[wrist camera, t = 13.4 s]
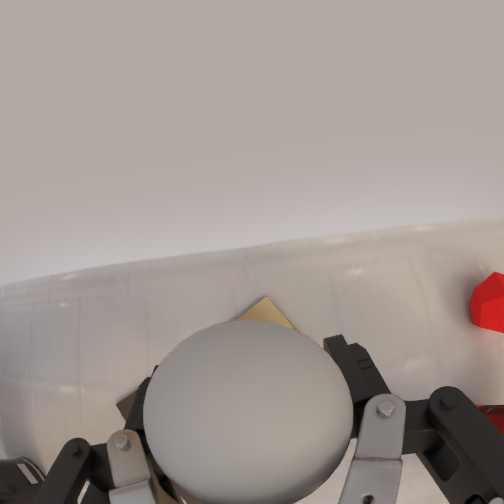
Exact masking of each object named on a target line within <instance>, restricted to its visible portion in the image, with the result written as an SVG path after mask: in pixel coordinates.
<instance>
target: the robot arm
mask: <svg viewBox="0 0 504 504" xmlns="http://www.w3.org/2000/svg"><path fill="white" fill-rule="evenodd" d="M323 343H324V350H325V351H326V352H327V353H328V354H329V355H330V357H331V358H332V359H333V360H334V362H335V363H336V364H337V366H338V367H339V368H340V370H341V372H342V374H343V376H344V378H345V380H346V383H347V385H348V387H349V391H350V395H351V399H352V404H353V429H352V434H351V438H350V439H352V438H356V437H357V440H358V441H357V445H356V449H355V453H354V456H353V458H352V461H351V464H350V467H349V471H348V474H347V477H346V481H345V484H344V487H343V490H342V493H341V496H340V499H339V502H338V504H395V503H396V499H397V494H398V489H399V484H400V478H401V473H402V464H403V461H402V460H401V455H404V454H413V453H416V454H417V456H418V457H419V459H420V460H421V462H422V463H423V465H424V466H425V468H426V469H427V470H428V472H429V473H430V475H431V476H432V478H433V479H434V481H435V482H436V484H437V485H438V487H439V488H440V490H441V491H442V492H443V494H444V495H445V497H446V498H447V500H448V501H449V503H450V504H504V435H503V434H502V433H501V432H500V431H499V430H498V429H497V428H496V426H495V425H494V424H493V423H492V422H491V421H490V420H489V419H488V418H487V417H486V416H485V415H484V414H483V413H482V412H481V411H480V410H479V409H478V408H477V407H476V406H475V405H474V403H473V402H472V401H471V400H470V399H469V398H468V397H467V396H466V395H465V394H464V393H463V392H462V391H460V390H459V389H457V388H455V387H450V386H445V387H441V388H439V389H437V390H435V391H434V392H433V393H432V394H431V396H430V398H429V399H425V400H417V401H404V400H402V399H401V398H400V397H398V396H397V395H394V394H392V393H391V392H390V390H389V389H388V387H387V385H386V383H385V382H384V380H383V378H382V376H381V375H380V373H379V371H378V369H377V368H376V366H375V364H374V363H373V361H372V359H371V357H370V356H369V354H368V352H367V351H366V349H365V348H363V347H362V346H360V345H359V344H357V343H354V344H350V345H347V343H346V341H345V339H344V337H343V335H342V334H340V335H336V336H332V337H328V338H324V340H323ZM158 366H159V365H156V366H155V368H154V371H153V373H152V376H153V374H154V372H155V371H156V369H157V368H158ZM152 376H151V377H147V378H146V379H145V380H144V381H143V382H142V383H141V385H140V386H139V389H138V391H137V394H136V397H135V399H134V404H133V405H132V407H131V410H130V413H129V416H128V418H127V421H126V424H125V427H124V430H120V431H117V432H116V433H114V434H113V435H112V436H111V437H110V438H109V440H108V442H107V443H104V444H98V445H92V446H91V445H90V444H89V443H88V442H87V441H86V440H85V439H83V438H74V439H71V440H70V441H68V442H67V443H66V444H65V445H64V447H63V448H62V450H61V452H60V453H59V455H58V457H57V459H56V460H55V462H54V464H53V465H52V467H51V469H50V471H49V472H48V474H47V476H46V478H45V477H44V475H43V474H42V473H41V471H40V470H39V469H38V468H37V467H36V466H35V465H34V464H33V463H32V462H31V461H29V460H28V459H25V458H16V459H1V460H0V504H78V503H77V499H78V497H79V494H80V492H81V490H82V488H83V486H84V484H85V482H86V480H87V481H88V482H90V484H89V486H88V488H87V491H86V493H85V495H84V497H83V499H82V501H81V503H80V504H184V503H183V501H182V499H181V496H180V494H179V492H178V490H177V488H176V486H175V484H174V483H173V482H172V481H171V480H170V479H169V478H168V477H167V476H166V475H165V473H164V472H163V471H162V469H161V468H160V466H159V465H158V463H157V462H156V460H155V459H154V457H153V454H152V452H151V450H150V447H149V445H148V443H147V439H146V434H145V429H144V424H143V406H144V401H145V396H146V392H147V388H148V386H149V383H150V381H151V379H152Z"/></svg>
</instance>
